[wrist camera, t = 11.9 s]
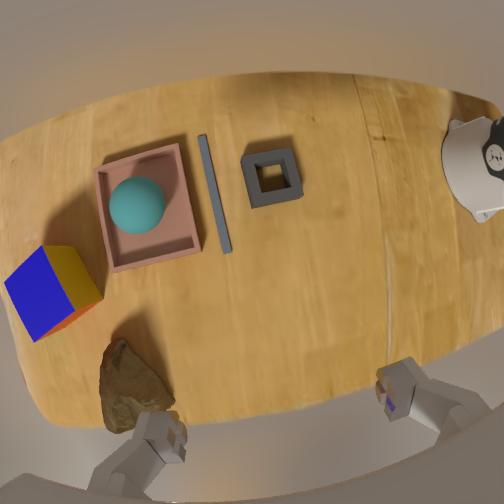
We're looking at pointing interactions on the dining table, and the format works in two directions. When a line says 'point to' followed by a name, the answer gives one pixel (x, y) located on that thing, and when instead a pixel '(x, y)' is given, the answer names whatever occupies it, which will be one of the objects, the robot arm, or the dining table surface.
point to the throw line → (214, 195)
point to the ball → (137, 205)
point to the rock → (128, 388)
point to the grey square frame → (288, 170)
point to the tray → (172, 223)
